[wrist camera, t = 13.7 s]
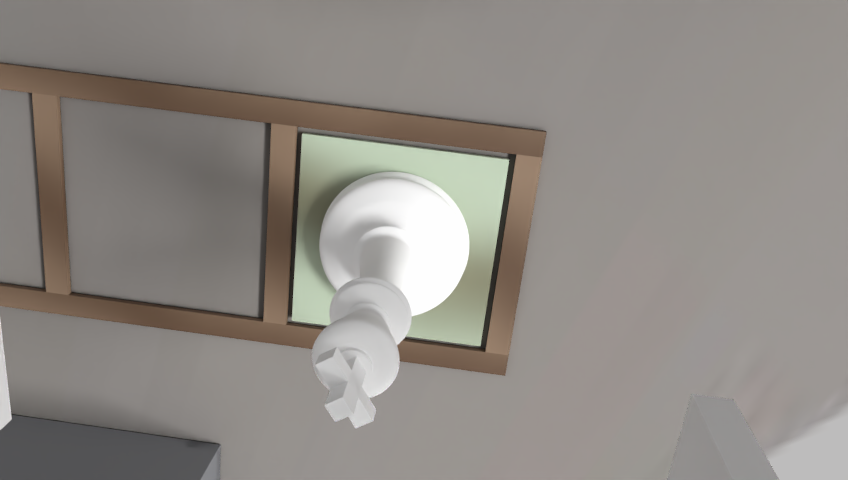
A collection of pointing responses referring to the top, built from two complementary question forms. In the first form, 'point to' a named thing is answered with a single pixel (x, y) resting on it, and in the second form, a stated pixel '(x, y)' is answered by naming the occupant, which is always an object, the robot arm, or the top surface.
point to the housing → (99, 453)
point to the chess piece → (382, 281)
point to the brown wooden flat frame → (309, 212)
